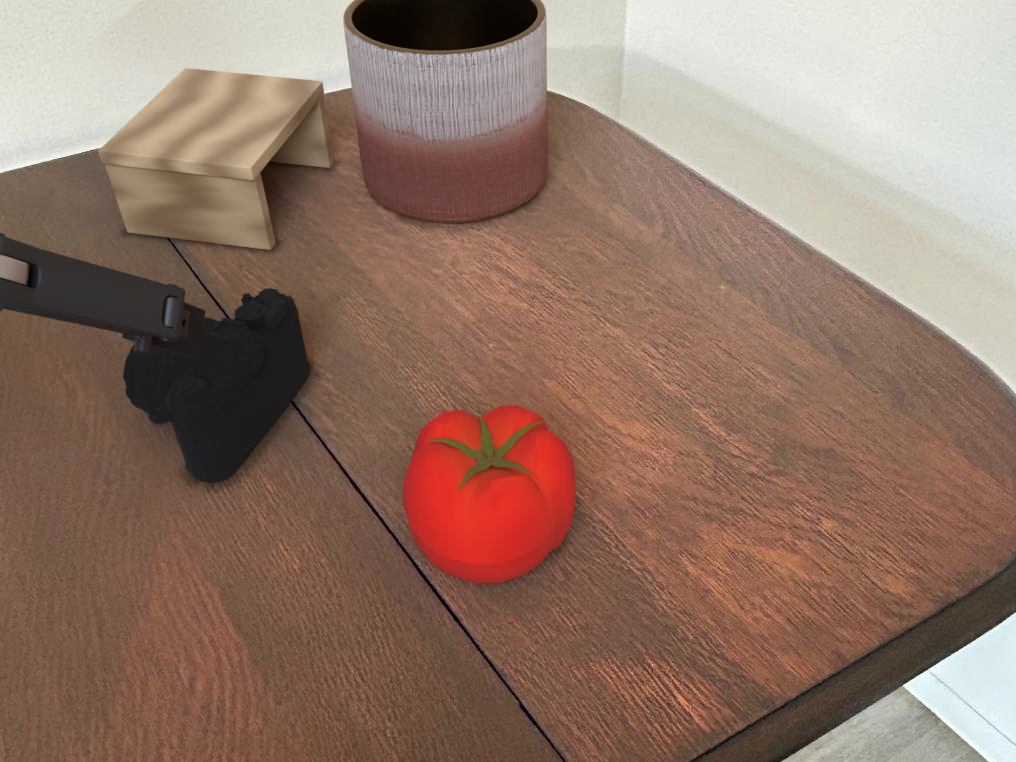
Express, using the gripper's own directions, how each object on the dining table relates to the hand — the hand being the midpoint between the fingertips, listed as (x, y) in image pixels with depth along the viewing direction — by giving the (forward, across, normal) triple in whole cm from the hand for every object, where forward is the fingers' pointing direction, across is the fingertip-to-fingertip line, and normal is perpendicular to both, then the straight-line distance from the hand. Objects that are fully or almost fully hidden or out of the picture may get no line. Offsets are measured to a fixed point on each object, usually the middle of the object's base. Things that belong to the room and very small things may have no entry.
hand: (86, 318), depth 58 cm
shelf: (+39, -12, +17) cm, 45 cm away
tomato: (+12, +23, -10) cm, 28 cm away
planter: (+44, +8, +22) cm, 50 cm away
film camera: (+18, 0, -4) cm, 19 cm away
